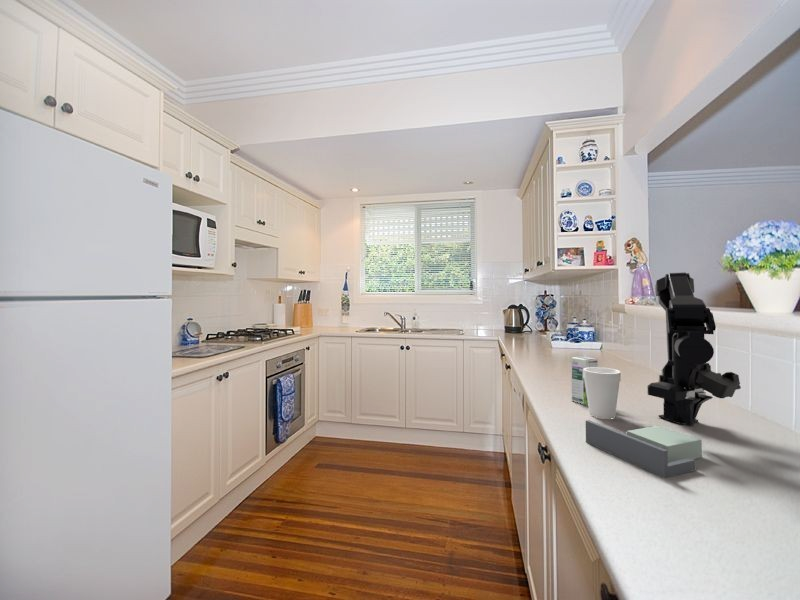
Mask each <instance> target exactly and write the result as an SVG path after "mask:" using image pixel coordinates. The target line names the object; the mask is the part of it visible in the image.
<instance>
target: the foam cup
mask: <svg viewBox="0 0 800 600" xmlns="http://www.w3.org/2000/svg"><path fill="white" fill-rule="evenodd" d="M583 378H584V381H585V387H586V394H587V400H588V405H587V406H588V412H589V415H590V416H591V417H593V416H594V417H593V418H595V417H597V418H596V419H600V418H603V419H602V420H612V419H611V418H614V419H615V417H616V411H617V405H618V398H619V397H618V396H619V390H620V383H621V380H622V379H621V378H622V376H621V370H618V369H616V368H615V369H614V368H608V367H590V368H584V369H583Z"/></svg>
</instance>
